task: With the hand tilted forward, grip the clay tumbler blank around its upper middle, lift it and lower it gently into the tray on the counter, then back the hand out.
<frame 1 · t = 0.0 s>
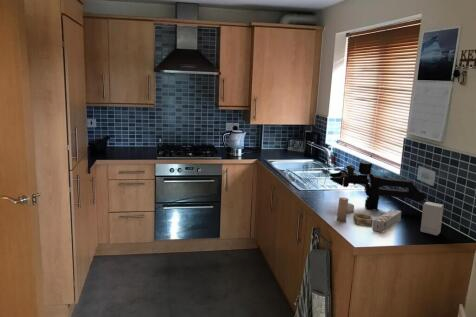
hand: (329, 176, 239), 17 cm above the worktop, tool horizontal, fingers open, 9 cm apart
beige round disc: (346, 210, 232), on the worktop
tumbler: (341, 220, 214), on the worktop
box: (386, 225, 212), on the worktop
tray: (362, 222, 214), on the worktop
skincare box: (429, 232, 205), on the worktop
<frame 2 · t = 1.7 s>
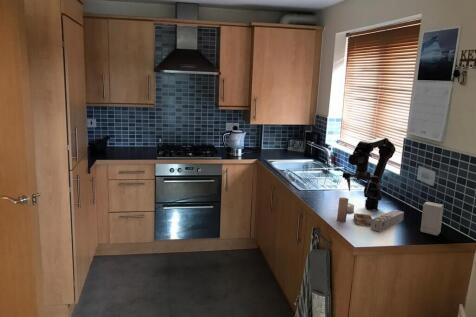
hand: (357, 192, 224), 12 cm above the worktop, tool pointing down, fingers open, 9 cm apart
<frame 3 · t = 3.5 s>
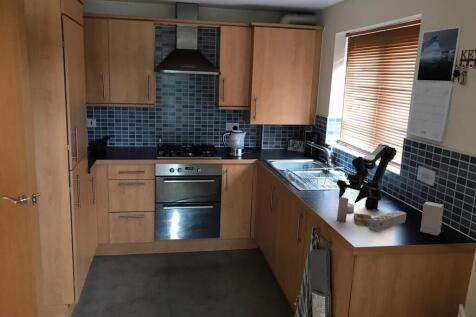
hand: (346, 200, 215), 10 cm above the worktop, tool tilted 45°, fingers open, 9 cm apart
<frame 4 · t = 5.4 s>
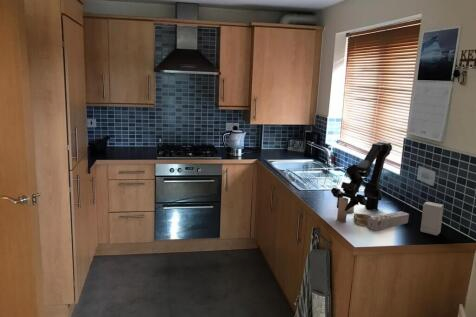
hand: (341, 209, 212), 7 cm above the worktop, tool tilted 45°, fingers closed on tumbler, 5 cm apart
tumbler: (341, 220, 214), on the worktop, touching gripper
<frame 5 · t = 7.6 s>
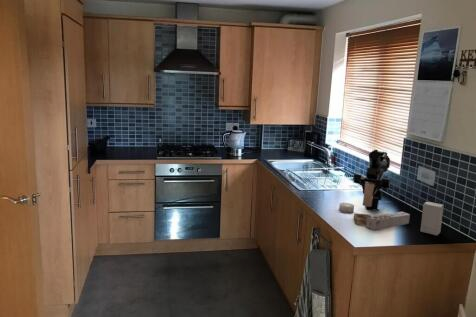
hand: (368, 194, 218), 13 cm above the worktop, tool tilted 45°, fingers closed on tumbler, 5 cm apart
tumbler: (367, 205, 220), point 7 cm above the worktop, touching gripper
when the fingers open (8 cm above the worktop, at t = 10.0 s): tumbler stays where it is, resting on tray.
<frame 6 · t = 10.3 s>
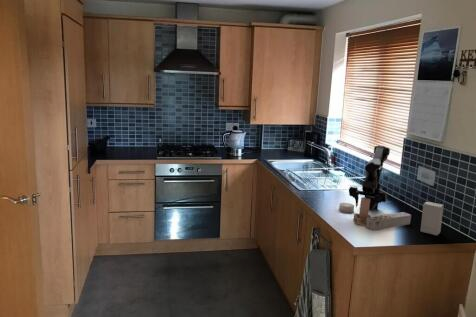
hand: (364, 208, 211), 8 cm above the worktop, tool tilted 45°, fingers open, 7 cm apart
tumbler: (362, 220, 214), point 1 cm above the worktop, touching tray
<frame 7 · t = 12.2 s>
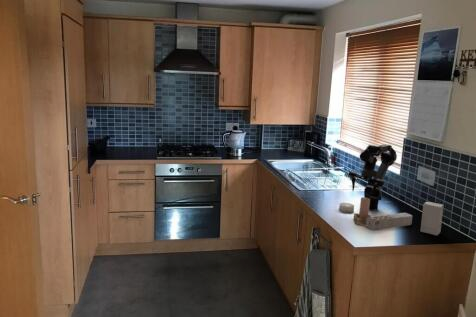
hand: (361, 193, 222), 12 cm above the worktop, tool tilted 25°, fingers open, 9 cm apart
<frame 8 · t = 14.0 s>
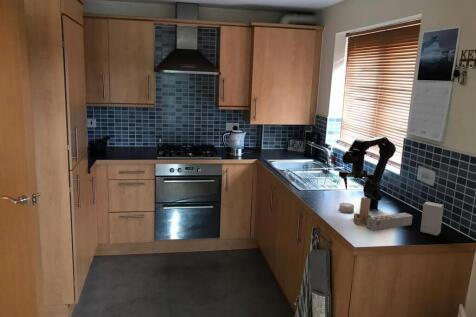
hand: (354, 190, 226), 13 cm above the worktop, tool pointing down, fingers open, 9 cm apart
at the end: tumbler inside the target area on the tray (0.1 cm from its centre), point 0.8 cm above the tray's base; tumbler tilted 1°; the gripper is holding nothing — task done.
